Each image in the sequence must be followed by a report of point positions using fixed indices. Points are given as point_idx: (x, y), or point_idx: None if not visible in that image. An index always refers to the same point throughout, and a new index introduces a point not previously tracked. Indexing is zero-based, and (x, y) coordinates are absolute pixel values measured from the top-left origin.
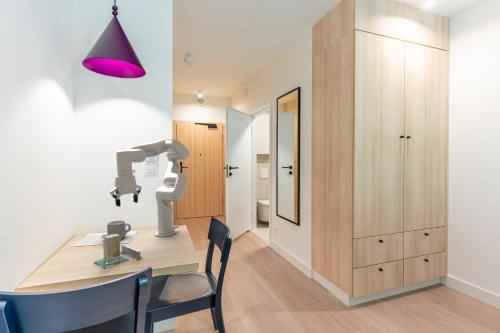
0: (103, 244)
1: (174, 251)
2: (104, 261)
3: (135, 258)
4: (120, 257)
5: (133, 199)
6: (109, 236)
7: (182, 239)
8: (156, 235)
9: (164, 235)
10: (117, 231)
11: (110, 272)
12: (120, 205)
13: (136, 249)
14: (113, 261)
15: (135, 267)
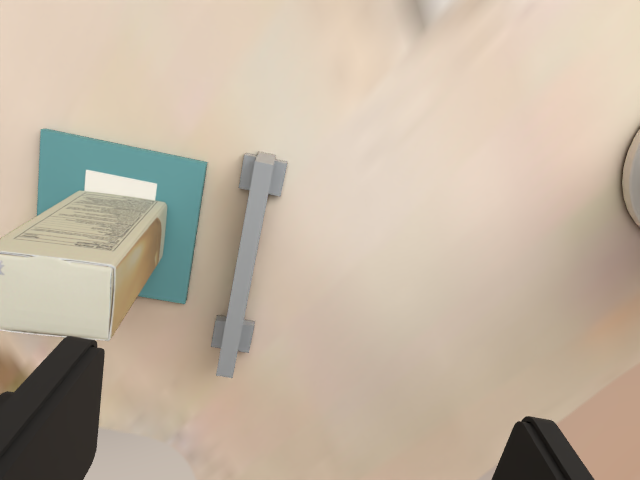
0: (20, 226)
1: (401, 442)
2: None
3: (213, 336)
4: (178, 240)
5: (547, 469)
6: (19, 299)
7: (602, 362)
8: (637, 136)
9: (635, 215)
10: None
11: (31, 339)
12: (85, 470)
13: (240, 335)
14: None
15: (142, 406)
